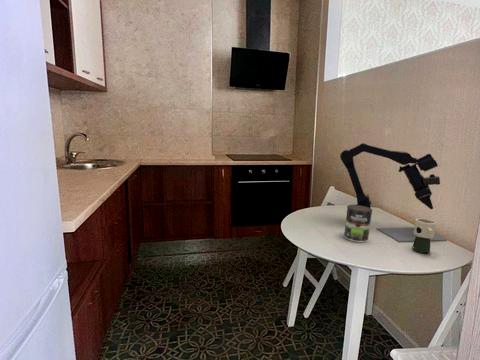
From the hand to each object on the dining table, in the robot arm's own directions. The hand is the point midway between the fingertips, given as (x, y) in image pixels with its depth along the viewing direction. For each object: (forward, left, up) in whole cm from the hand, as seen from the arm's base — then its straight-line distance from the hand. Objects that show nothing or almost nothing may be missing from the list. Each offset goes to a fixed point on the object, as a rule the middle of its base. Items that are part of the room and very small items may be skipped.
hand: (431, 206), depth 133 cm
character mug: (-16, -15, -15) cm, 26 cm away
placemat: (-7, +2, -14) cm, 16 cm away
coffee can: (-36, 0, -15) cm, 39 cm away
